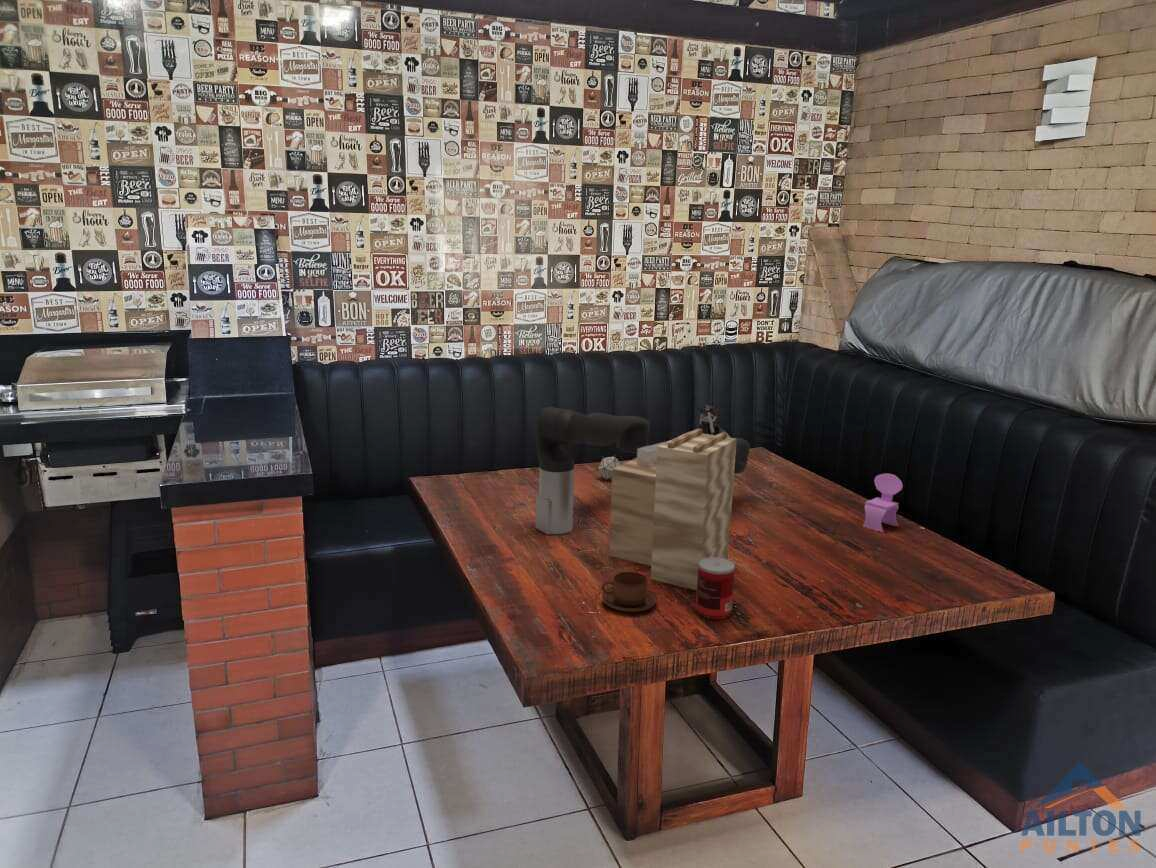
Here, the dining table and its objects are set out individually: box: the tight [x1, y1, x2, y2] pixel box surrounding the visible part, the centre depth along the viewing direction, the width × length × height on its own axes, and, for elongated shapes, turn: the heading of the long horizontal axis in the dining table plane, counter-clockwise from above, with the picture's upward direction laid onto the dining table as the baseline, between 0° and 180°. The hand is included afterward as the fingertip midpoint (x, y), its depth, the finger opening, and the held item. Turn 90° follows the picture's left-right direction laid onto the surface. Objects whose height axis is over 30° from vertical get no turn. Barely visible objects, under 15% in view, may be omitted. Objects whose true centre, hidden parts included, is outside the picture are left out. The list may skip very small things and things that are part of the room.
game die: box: [594, 454, 623, 482], centre depth 274 cm, size 9×8×10 cm
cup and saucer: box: [601, 571, 658, 613], centre depth 184 cm, size 12×12×6 cm
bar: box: [636, 440, 669, 468], centre depth 217 cm, size 24×4×4 cm, turn 135°
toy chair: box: [862, 473, 903, 534], centre depth 236 cm, size 8×9×15 cm
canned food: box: [695, 557, 736, 618], centre depth 181 cm, size 8×8×11 cm
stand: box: [608, 428, 737, 591], centre depth 207 cm, size 30×27×33 cm
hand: (691, 424), depth 225 cm, fingers open, 8 cm apart
